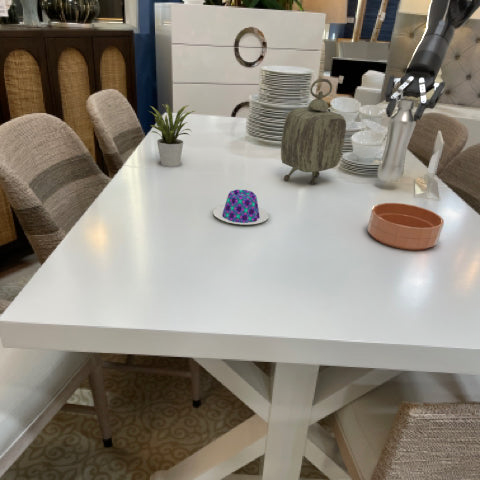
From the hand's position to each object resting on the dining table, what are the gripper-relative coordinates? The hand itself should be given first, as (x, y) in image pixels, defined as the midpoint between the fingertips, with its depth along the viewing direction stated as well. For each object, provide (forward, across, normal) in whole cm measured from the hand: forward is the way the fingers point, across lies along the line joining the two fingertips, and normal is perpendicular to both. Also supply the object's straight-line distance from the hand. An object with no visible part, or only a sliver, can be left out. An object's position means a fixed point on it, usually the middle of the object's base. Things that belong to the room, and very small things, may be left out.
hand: (401, 116), depth 116 cm
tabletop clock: (+19, +18, -7) cm, 28 cm away
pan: (+34, -13, +8) cm, 38 cm away
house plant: (+29, +53, +3) cm, 61 cm away
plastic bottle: (+10, 0, -13) cm, 17 cm away
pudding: (+44, +18, +18) cm, 51 cm away
